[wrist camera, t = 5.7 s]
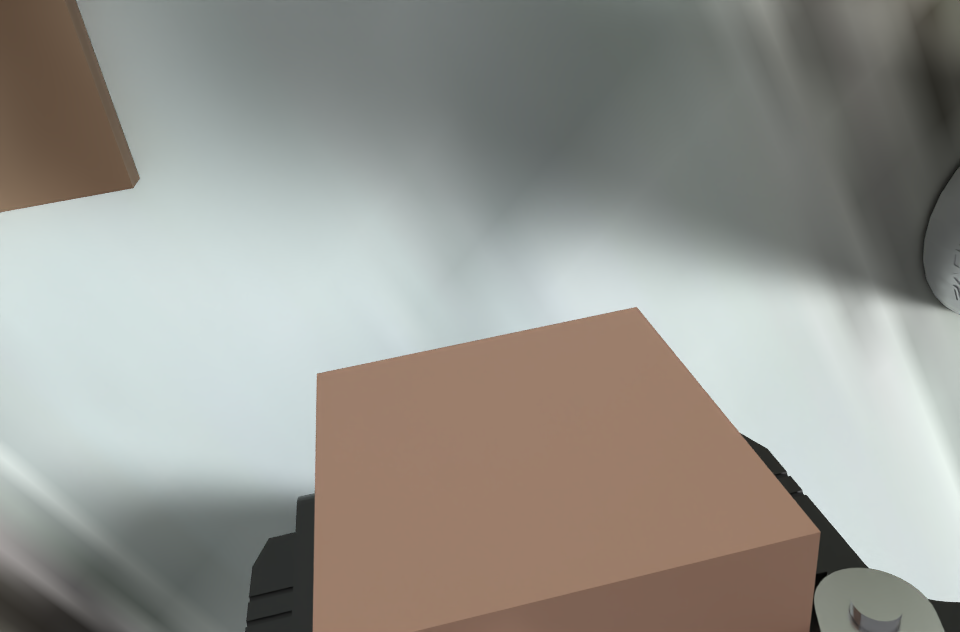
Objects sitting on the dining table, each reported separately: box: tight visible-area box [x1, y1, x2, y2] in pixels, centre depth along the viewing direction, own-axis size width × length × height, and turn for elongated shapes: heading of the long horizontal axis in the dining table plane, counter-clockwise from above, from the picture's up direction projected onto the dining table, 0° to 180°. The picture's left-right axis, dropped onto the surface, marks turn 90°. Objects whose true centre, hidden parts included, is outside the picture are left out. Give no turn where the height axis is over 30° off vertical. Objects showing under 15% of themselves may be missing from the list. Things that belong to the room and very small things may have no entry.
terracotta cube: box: [313, 307, 821, 632], centre depth 11 cm, size 5×5×5 cm
